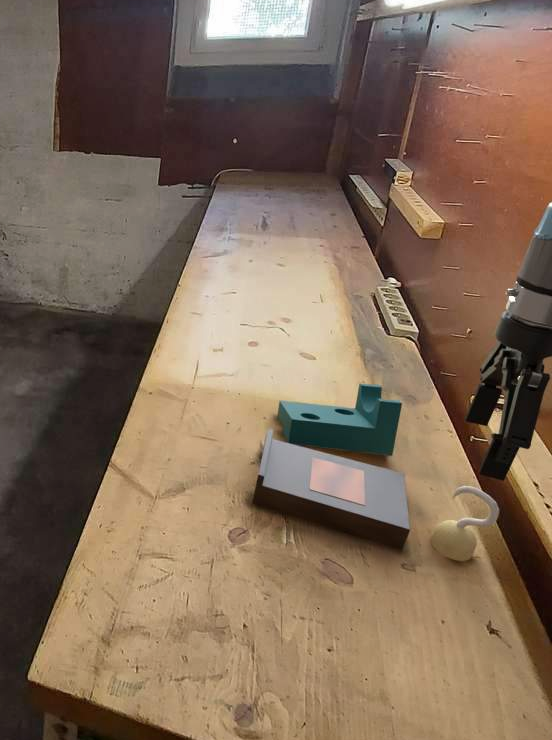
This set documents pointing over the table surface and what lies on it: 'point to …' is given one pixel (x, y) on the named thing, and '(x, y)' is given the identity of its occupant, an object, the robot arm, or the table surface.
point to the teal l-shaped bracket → (344, 423)
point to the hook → (462, 529)
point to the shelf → (333, 492)
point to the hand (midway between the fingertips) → (482, 447)
